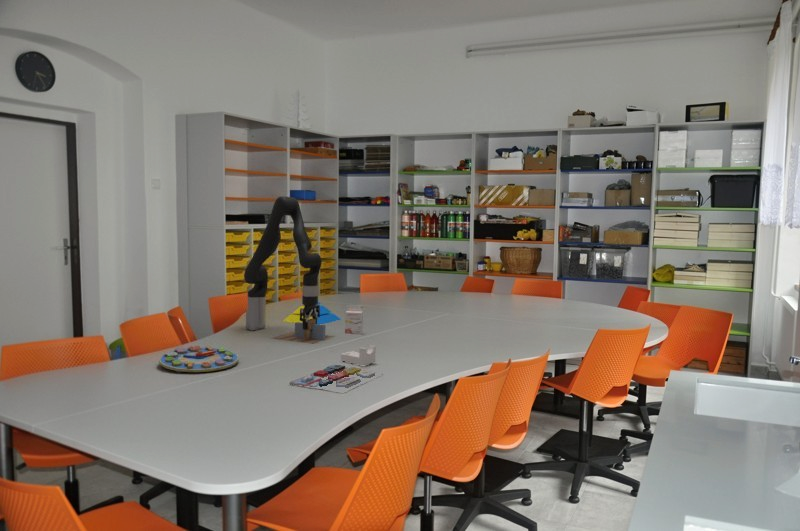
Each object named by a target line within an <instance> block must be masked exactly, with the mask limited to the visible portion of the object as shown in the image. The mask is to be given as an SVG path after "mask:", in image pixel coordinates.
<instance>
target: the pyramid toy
mask: <svg viewBox="0 0 800 531" xmlns="http://www.w3.org/2000/svg"><path fill="white" fill-rule="evenodd" d="M317 305H320V317H318V319H317V324H321V325H325V323H326V324H329V322H330V323H333V322H332V321H334V322H337V321H336V320H338V321H341V320H342V319H341V318H340V317H339V316H337V315H336V314H335V313H333V312H332V311H331V310H330V309H329V308H327V307H326V306H325V305H322V303H321V302H320V301H318V304H317ZM300 308H304V305H303V304H302V305H300V306H299V307H298V308H297V309H296V310H294V311H293V312H292V313H291V314H289V315H287V317H286V318H284V319H283V320H282V322H285V321H287V323H292V322H294V324H295V323H296V322H301V323H303V322H302V321H300ZM317 315H318V312H317ZM302 318H303V316H302ZM305 319H306V318H305ZM308 319H313V318H312V316H310V318H308Z"/></svg>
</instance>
